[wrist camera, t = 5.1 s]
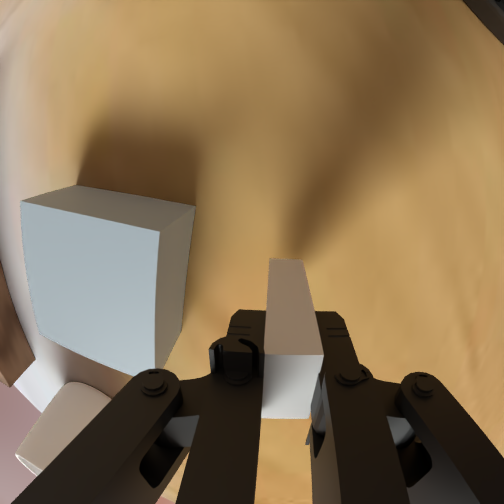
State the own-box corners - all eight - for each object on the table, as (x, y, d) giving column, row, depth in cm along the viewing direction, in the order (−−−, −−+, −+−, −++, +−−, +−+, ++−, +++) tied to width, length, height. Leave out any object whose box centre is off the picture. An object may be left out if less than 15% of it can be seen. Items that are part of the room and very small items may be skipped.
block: (77, 184, 14) (20, 200, 10) (196, 205, 14) (159, 231, 10) (80, 296, 17) (39, 334, 12) (182, 329, 17) (155, 383, 12)
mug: (52, 400, 23) (11, 459, 13) (77, 366, 20) (16, 449, 10) (106, 443, 25) (76, 505, 15) (150, 423, 21) (113, 514, 11)
